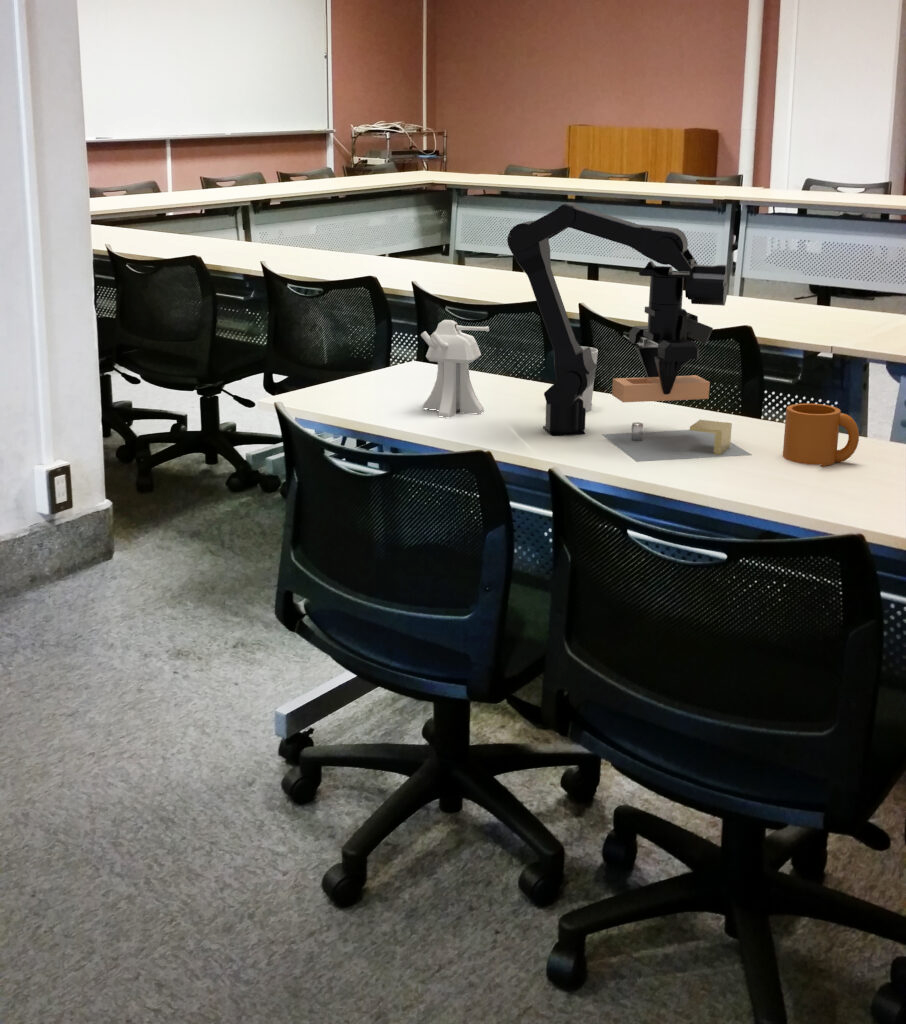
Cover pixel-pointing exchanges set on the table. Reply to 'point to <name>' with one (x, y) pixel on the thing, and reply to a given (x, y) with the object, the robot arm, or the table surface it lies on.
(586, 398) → the cup
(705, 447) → the mat
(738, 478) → the table surface
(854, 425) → the mug
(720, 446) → the keeper
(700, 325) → the robot arm
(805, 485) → the table surface
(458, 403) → the white mech figurine
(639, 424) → the cylinder
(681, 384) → the link
